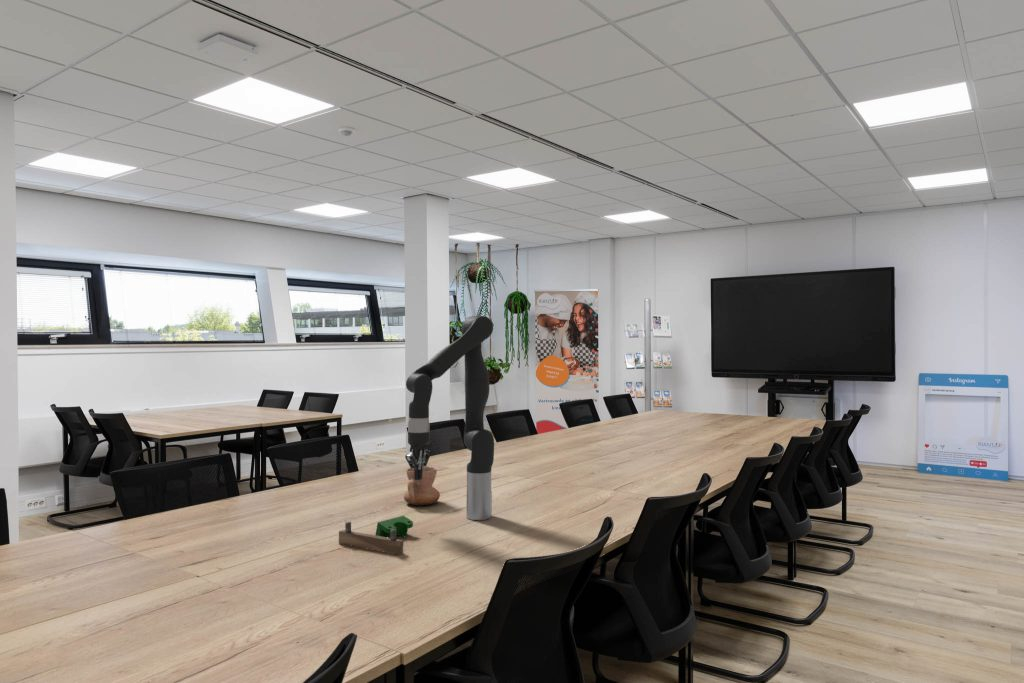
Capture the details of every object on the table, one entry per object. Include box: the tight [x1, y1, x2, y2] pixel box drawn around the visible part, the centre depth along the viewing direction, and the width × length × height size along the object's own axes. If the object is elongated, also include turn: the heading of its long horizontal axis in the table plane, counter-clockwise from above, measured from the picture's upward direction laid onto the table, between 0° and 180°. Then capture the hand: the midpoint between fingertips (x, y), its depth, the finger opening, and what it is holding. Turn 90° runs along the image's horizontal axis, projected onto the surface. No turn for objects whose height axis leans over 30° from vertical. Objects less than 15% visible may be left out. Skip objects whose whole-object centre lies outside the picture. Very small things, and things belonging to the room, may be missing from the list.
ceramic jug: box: [403, 465, 441, 506], centre depth 261 cm, size 18×14×14 cm
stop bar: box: [338, 521, 404, 556], centre depth 203 cm, size 2×24×7 cm, turn 63°
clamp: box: [375, 515, 414, 538], centre depth 215 cm, size 12×6×9 cm, turn 135°
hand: (418, 479), depth 227 cm, fingers closed
